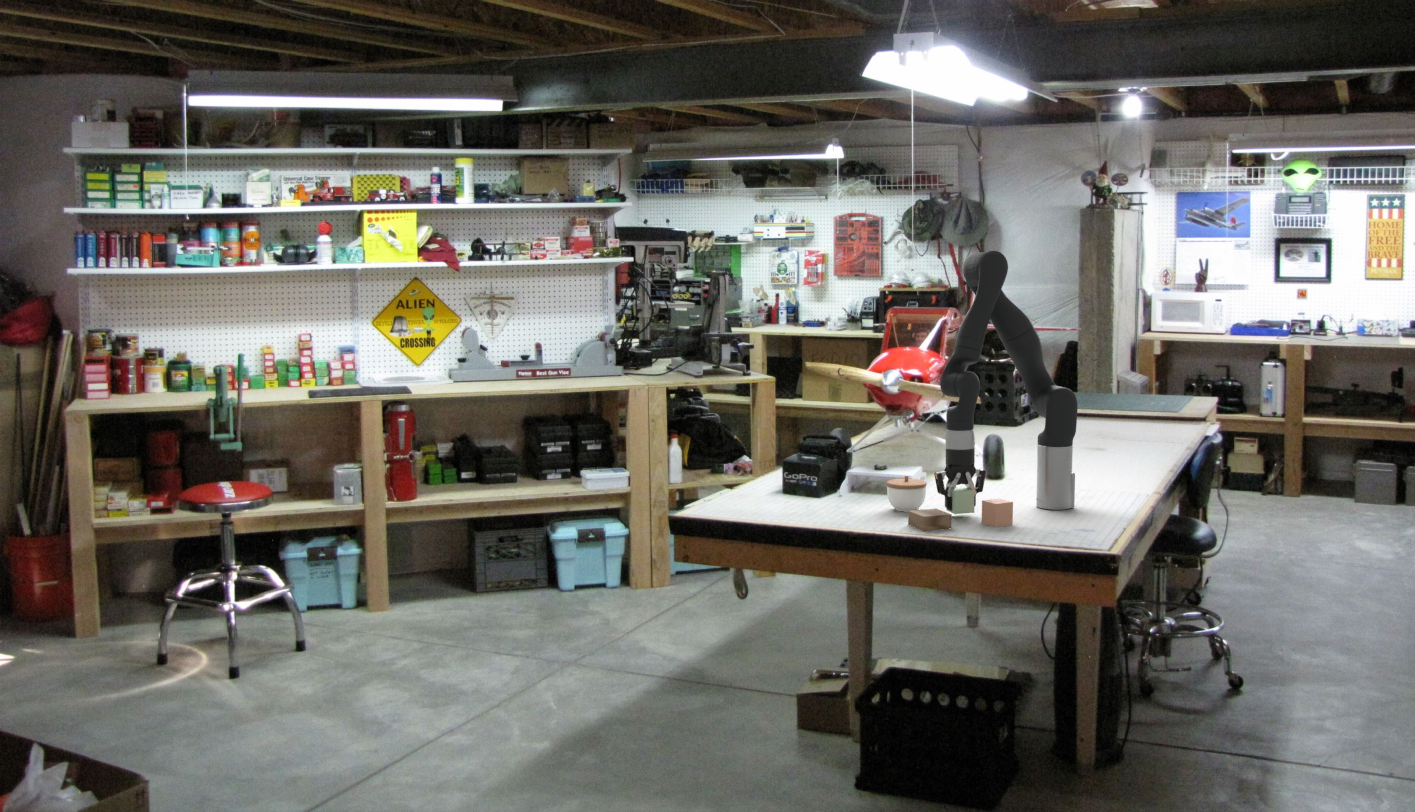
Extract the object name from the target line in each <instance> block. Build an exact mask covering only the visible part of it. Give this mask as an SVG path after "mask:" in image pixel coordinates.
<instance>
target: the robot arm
mask: <svg viewBox="0 0 1415 812" xmlns="http://www.w3.org/2000/svg"><path fill="white" fill-rule="evenodd" d="M1008 272H1009V262H1008V259H1007V258H1006V256H1005V255H1004V254H1003V253H1002V252H1001V251H998V250H987V251H982V252H976V253H972V254H970V255H968V256H966V258H965V259H964V261H963V264H962V274H963V277H964V279H965V281H966V283H967V285H968V286H969V288H970V289H971V291H972V292H973V294H974V295H975V297H974V299H973V302H972V303H971V306H970V308H969V309H968V311H967V313H966V315H965V316H964V318H963V320H962V322H961V323H960V326H959V328H958V331H957V335H956V339H955V344H954V346H953V347H954V348H953V352H952V354H951V356H950V357H949V359H948V361H947V363H946V365H945V367H944V369H943V371H942V373H941V376H940V379H939V380H940V381H939V386H940V390H941V392H942V393H943V395H945V396H946V397H950V398H951V397H952V398H958V402H957V404H956V405H954V406H951V407H948V408H947V410H946V417H945V418H946V429H945V430H946V431H945V468H944V470H942V471H935V472H934V473H933V474H934V481H935V485H936V489H937V490H936V491H937V493H938V494H939V495H942V496H943V497H944V507H945V508H947V510H949V511H952V497H951V496H952V491H953V490H954V489H955V488H956V487H957V486H959V485H964V487H967V488H970V489H973V490H974V508H975V507H976V504H977V502H976V500H977V498H976V497H977V494H979V493H982V492H983V491H984V485H985V481H986V480H985V479H986V475H987V471H986V470H985V469H982V468H976V467H975V461H976V460H975V458H976V457H975V456H976V454H975V452H976V451H975V448H976V447H975V446H976V441H975V439H976V438H975V431H974V429H975V426H974V425H975V423H974V422H975V421H974V414H975V410H976V406H977V402H978V399H979V394H980V391H981V381H980V379H979V376H978V375H977V374H976V373H975V372H974V371H970V370H969V371H968V370H966V369H967V368H968V366H970V365H974V364H975V365H976V364H977V363H978V362H979V361H980V358H981V355H982V350H983V345H984V343H985V342H984V341H985V337H986V333H987V330H988V325H989V323H990V322H991V324H992V325H993V327H994V329H995V331H996V333H997V335H998V337H999V339H1000V341H1001V343H1002V345H1003V347H1004V349H1005V350H1006V352H1007V354H1008V356H1009V358H1010V359H1011V360H1012V361H1011V362H1012V363H1013V364H1014V366H1015V368H1016V370H1017V372H1018V373H1019V375H1020V377H1021V379H1022V381H1023V383H1024V386H1025V388H1026V391H1027V393H1028V396H1029V399H1030V402H1031V403H1032V406H1033V408H1034V410H1035V411H1036V413H1037V414H1038V415H1039V416H1040V417H1043V418H1044V419H1045V421H1044V422H1045V423H1044V429H1043V430H1042V431H1041V432H1040V433H1039V434H1038V435H1037V455H1036V456H1037V458H1036V460H1037V461H1036V463H1037V464H1036V499H1035V500H1036V503H1035V504H1036V505H1035V507H1037V508H1039V509H1043V510H1044V509H1045V510H1055V511H1056V510H1057V511H1059V510H1060V511H1061V510H1068V509H1072V508H1073V509H1074V508H1075V502H1076V501H1075V500H1076V497H1075V494H1076V492H1075V491H1076V474H1075V472H1073V448H1074V447H1073V445H1074V442H1073V441H1074V438H1075V435H1076V434H1077V424H1078V423H1077V422H1078V400H1077V396H1076V394H1075V392H1074V391H1073V390H1072V389H1070V388H1067V387H1065V386H1064V387H1063V386H1059V385H1057V383H1055V382H1054V380H1053V379H1052V377H1051V375H1050V374H1049V372H1048V369H1047V368H1046V365H1045V362H1044V357H1043V356H1044V354H1043V345H1042V342H1041V338H1040V337H1039V334H1038V332H1037V330H1036V328H1035V326H1034V325H1033V323H1032V321H1031V319H1030V318H1029V317H1028V315H1027V314H1026V313H1025V312H1024V311H1023V310H1022V309H1021V308H1020V307H1019V306H1017V305H1016V304H1015V303H1014V302H1013V301H1012V300H1010V298H1008V296H1007V295H1006V294H1005V292H1004V291H1003V289H1002V288H1003V286H1004V283H1005V282H1006V279H1007V276H1008ZM945 476H946V477H947V481H946V484H945V483H944V480H945ZM974 476H975V477H976V479H975V484H974V481H973V477H974ZM947 510H946V511H947ZM949 511H948V512H949Z"/></svg>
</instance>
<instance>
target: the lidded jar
mask: <svg viewBox="0 0 1415 812" xmlns="http://www.w3.org/2000/svg"><path fill="white" fill-rule="evenodd" d="M886 492H887V493H886V494H887V500H888V502H889V503H890V505H891V506H892V508H894V510H895V509H896V510H898V511H897V512H900V511H904V513H908V511H912V510H919V509H920V508H921V507H922V505H923V504H924V502H925V499H926V495H927V494H926V493H927V481H925V480H922V479H917V478H909V475H904V478H893V479H889V480H886ZM896 510H895V511H896Z"/></svg>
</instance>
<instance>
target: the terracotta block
mask: <svg viewBox="0 0 1415 812" xmlns="http://www.w3.org/2000/svg"><path fill="white" fill-rule="evenodd" d="M1013 514H1014V502H1013V501H1010V500H1006V499H1002V498H991V499H983V500H981V524H983V523H984V525H987V524H988V525H987V526H990V525H991V527H994V526H1000V527H1005V526H1004V525H1007V526H1013V525H1012V524H1014V522H1013V521H1014V520H1013V518H1014V515H1013Z"/></svg>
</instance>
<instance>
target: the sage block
mask: <svg viewBox="0 0 1415 812" xmlns="http://www.w3.org/2000/svg"><path fill="white" fill-rule="evenodd" d="M951 497H952V511H949V510H947V508H946V507H945V508H946V510H945V511H947V512H948V513H949V512H950V514H954V515H961V514H973V513H975V507H974V490H973V489H970V488H967V487H966V486H956V488H955V489H954V490H953V491H952V496H951Z"/></svg>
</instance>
